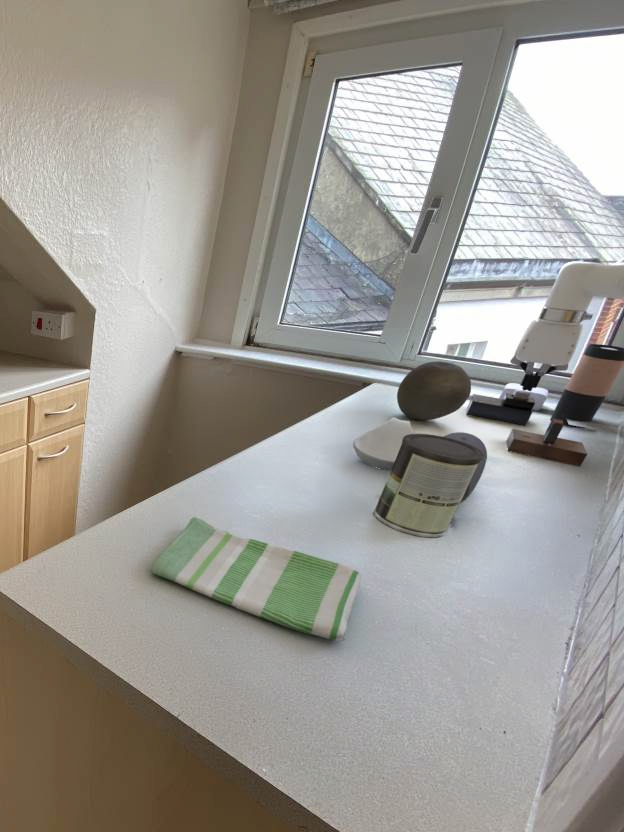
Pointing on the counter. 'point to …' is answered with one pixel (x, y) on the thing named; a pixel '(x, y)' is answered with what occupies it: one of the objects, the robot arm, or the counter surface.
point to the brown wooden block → (546, 447)
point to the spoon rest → (382, 443)
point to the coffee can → (427, 484)
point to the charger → (535, 393)
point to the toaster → (501, 409)
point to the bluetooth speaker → (477, 475)
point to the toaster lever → (521, 394)
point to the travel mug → (589, 383)
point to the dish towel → (262, 579)
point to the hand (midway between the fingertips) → (526, 389)
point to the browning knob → (553, 431)
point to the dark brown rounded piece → (433, 390)
